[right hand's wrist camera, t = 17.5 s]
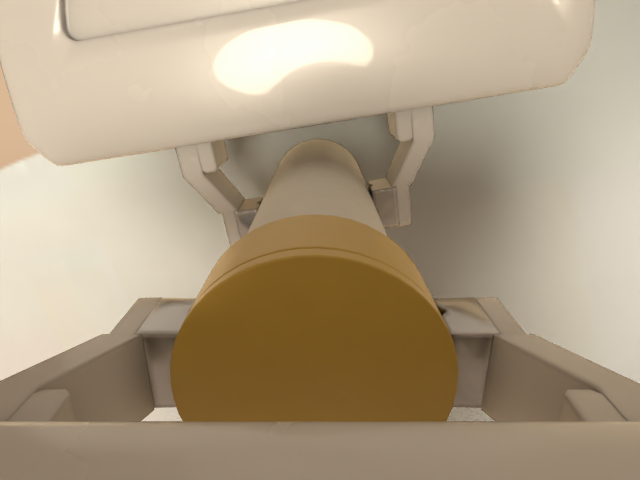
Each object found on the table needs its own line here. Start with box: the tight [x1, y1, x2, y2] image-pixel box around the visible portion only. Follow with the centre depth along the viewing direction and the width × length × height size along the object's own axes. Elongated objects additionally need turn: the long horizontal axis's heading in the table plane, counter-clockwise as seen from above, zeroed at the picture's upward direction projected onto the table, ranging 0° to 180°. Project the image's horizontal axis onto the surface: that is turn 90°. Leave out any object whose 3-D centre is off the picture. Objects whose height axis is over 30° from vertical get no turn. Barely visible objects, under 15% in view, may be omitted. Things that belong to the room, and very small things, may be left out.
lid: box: [170, 214, 459, 422], centre depth 9 cm, size 5×5×2 cm
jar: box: [247, 139, 387, 236], centre depth 16 cm, size 5×5×16 cm
